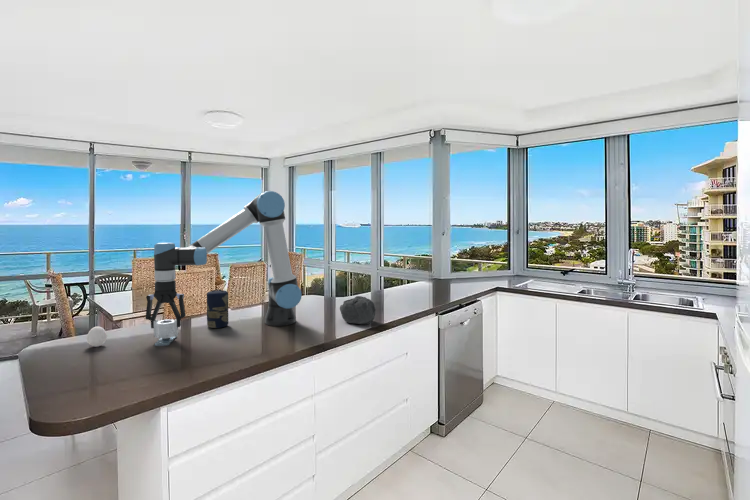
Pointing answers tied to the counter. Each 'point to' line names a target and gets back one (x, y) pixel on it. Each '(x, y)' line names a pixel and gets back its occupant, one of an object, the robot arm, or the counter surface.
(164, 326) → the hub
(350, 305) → the rock
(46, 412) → the counter surface
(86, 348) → the counter surface
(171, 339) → the shaft stand
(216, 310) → the canister
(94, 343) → the egg
